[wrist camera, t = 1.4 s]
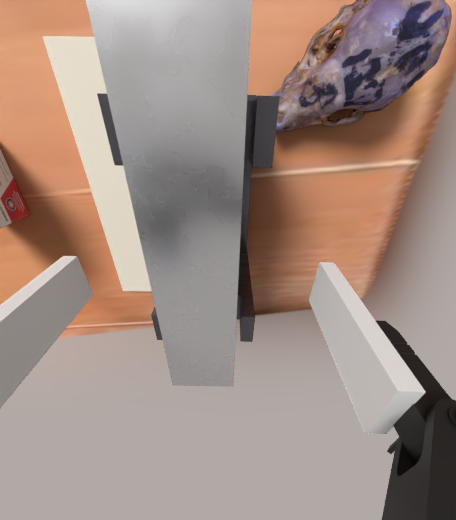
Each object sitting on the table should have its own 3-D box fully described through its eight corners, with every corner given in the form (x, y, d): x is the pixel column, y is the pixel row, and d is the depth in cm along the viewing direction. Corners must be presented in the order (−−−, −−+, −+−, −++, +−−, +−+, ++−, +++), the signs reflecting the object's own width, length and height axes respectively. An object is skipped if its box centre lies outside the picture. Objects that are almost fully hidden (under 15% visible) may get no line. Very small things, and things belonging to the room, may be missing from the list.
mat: (125, 286, 32) (123, 290, 31) (51, 40, 18) (42, 36, 17) (180, 287, 32) (179, 291, 31) (148, 41, 18) (144, 37, 17)
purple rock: (272, 151, 22) (284, 160, 17) (250, 57, 19) (258, 31, 13) (400, 101, 20) (459, 94, 15) (405, -19, 16) (487, -84, 11)
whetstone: (183, 335, 22) (172, 385, 18) (140, 34, 11) (80, -24, 6) (232, 336, 22) (233, 386, 18) (244, 36, 11) (253, -21, 6)
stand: (184, 267, 30) (159, 347, 19) (165, 94, 20) (89, 63, 9) (244, 268, 30) (251, 348, 19) (255, 96, 20) (283, 66, 9)
